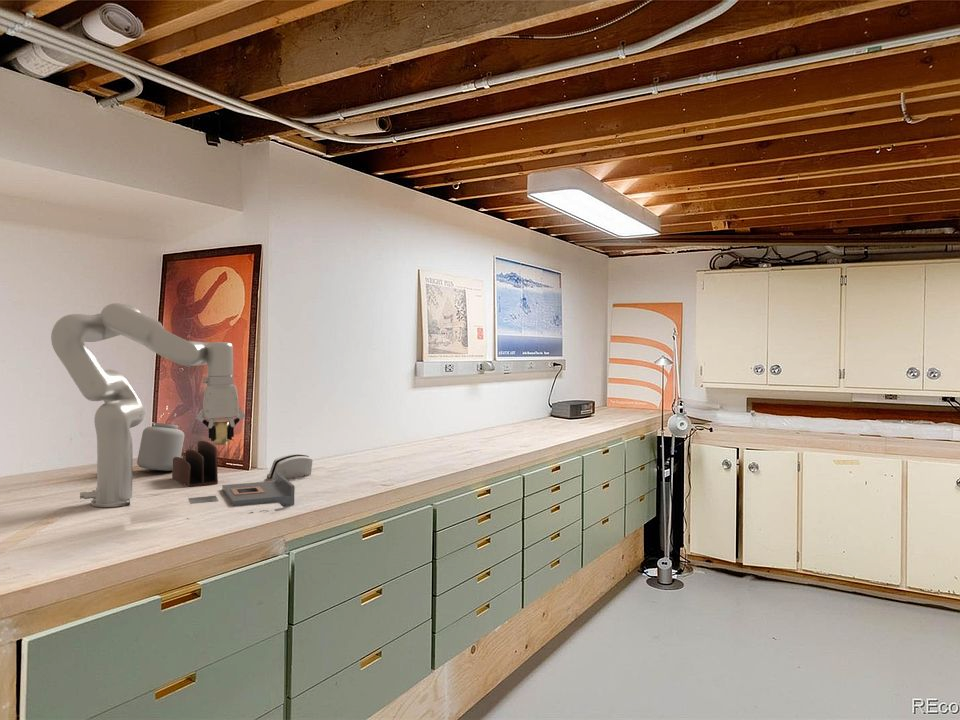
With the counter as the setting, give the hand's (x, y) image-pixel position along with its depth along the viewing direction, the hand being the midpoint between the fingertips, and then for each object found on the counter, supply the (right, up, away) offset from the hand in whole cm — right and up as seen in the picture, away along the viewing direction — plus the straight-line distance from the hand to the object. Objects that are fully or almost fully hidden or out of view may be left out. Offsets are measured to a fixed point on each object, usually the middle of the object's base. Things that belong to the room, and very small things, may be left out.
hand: (221, 439), depth 204 cm
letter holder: (-22, -19, +32) cm, 43 cm away
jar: (-42, -18, +49) cm, 67 cm away
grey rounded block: (+10, -20, +42) cm, 47 cm away
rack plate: (+9, -20, +6) cm, 23 cm away
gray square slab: (-5, -20, -2) cm, 21 cm away
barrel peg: (0, -1, 0) cm, 1 cm away
